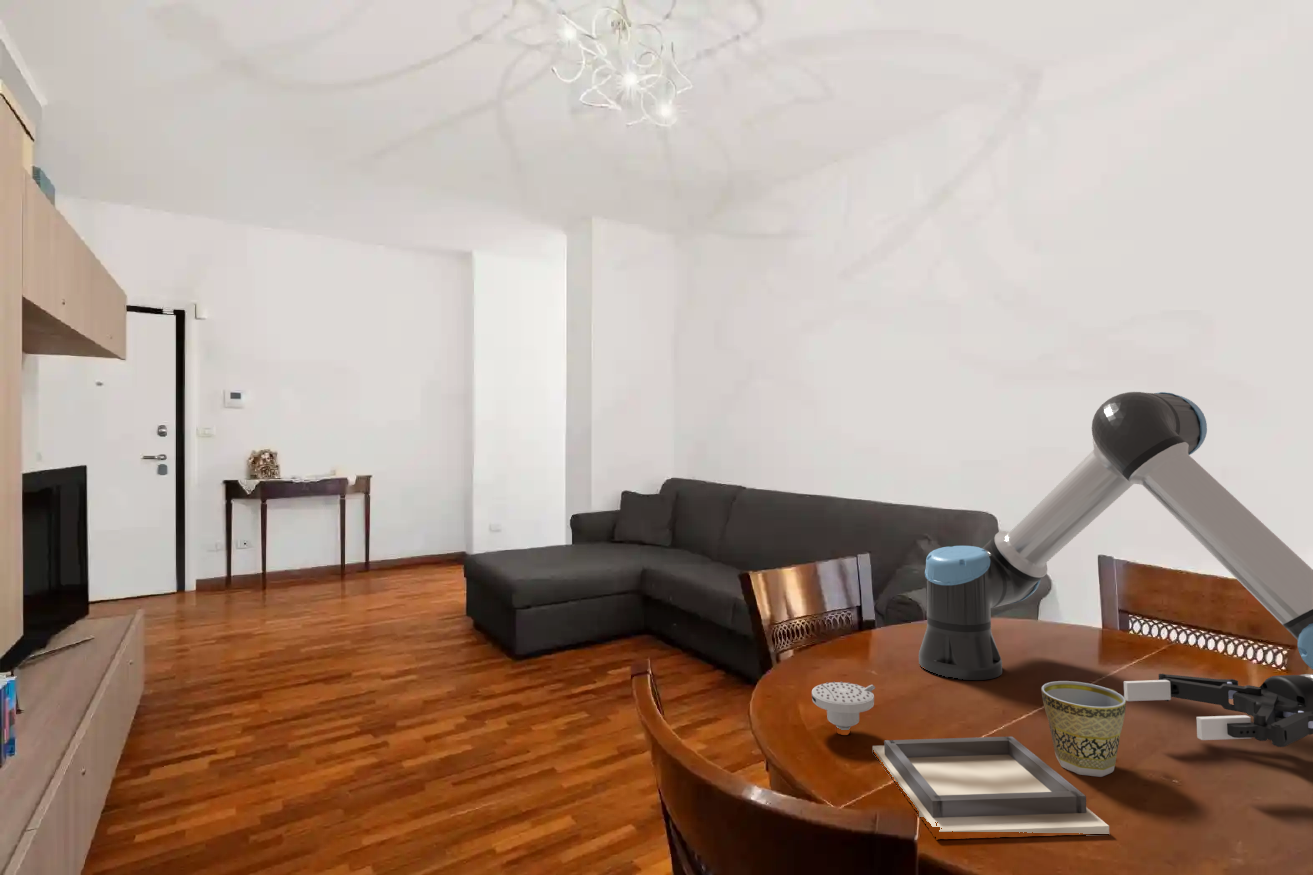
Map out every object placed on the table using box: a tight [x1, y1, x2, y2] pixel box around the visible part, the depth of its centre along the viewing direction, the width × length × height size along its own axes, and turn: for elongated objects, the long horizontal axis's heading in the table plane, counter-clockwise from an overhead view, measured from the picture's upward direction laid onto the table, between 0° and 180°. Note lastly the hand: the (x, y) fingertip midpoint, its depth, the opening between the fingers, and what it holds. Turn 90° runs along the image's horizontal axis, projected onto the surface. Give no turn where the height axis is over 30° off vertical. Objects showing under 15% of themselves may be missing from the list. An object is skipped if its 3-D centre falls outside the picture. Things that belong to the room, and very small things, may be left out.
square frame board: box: [872, 736, 1110, 835], centre depth 89 cm, size 22×20×3 cm
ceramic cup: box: [1040, 680, 1127, 778], centre depth 95 cm, size 13×10×10 cm
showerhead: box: [811, 681, 876, 730], centre depth 107 cm, size 9×7×10 cm
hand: (1159, 708), depth 95 cm, fingers open, 13 cm apart
